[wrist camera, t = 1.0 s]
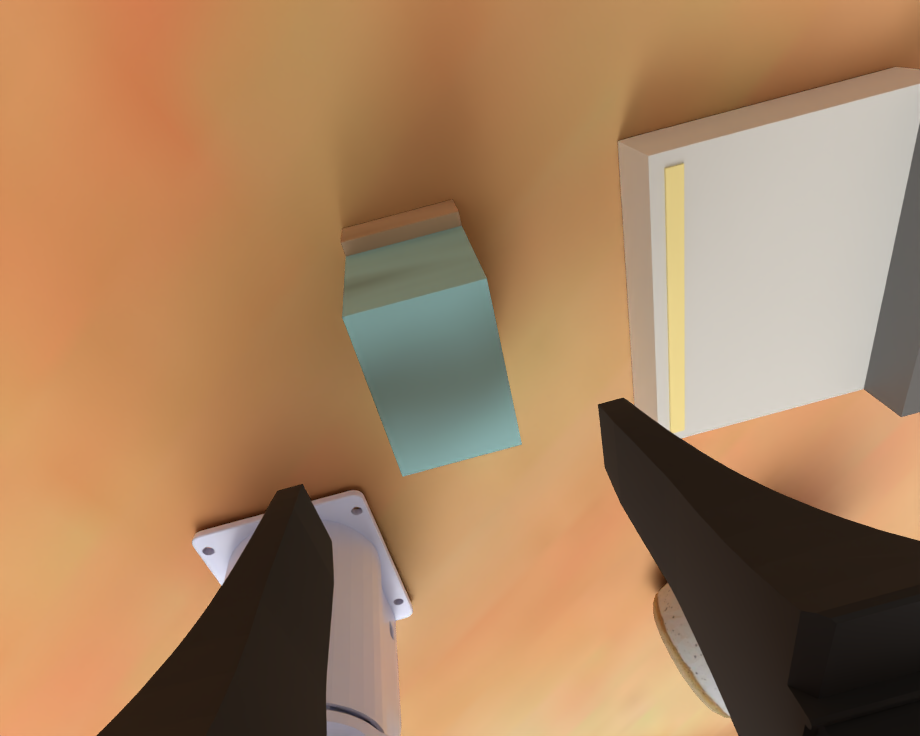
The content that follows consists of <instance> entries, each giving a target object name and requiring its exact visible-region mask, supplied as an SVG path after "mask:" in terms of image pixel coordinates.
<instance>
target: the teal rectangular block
mask: <svg viewBox="0 0 920 736" xmlns="http://www.w3.org/2000/svg"><path fill="white" fill-rule="evenodd" d="M341 245H342V247H343V250H344V253H345V256H346V261H345V278H344V294H343V311H342V318H343V321H344V323H345V326H346V329H347V331H348V334H349V337H350V339H351V342H352V344H353V347H354V350H355V352H356V355H357V358H358V360H359V363H360V366H361V368H362V371H363V373H364V376H365V379H366V381H367V384H368V387H369V389H370V392H371V395H372V397H373V400H374V402H375V405H376V408H377V410H378V413H379V416H380V418H381V421H382V424H383V426H384V429H385V431H386V434H387V437H388V439H389V442H390V445H391V447H392V450H393V453H394V455H395V458H396V461H397V463H398V466H399V468H400V471H401V474H402V476H407V475H410V474H414V473H418V472H421V471H425V470H429V469H433V468H436V467H440V466H444V465H447V464H451V463H455V462H459V461H462V460H466V459H470V458H473V457H477V456H481V455H484V454H488V453H492V452H496V451H499V450H503V449H507V448H510V447H514V446H518V445H522V443H521V438H520V433H519V429H518V424H517V419H516V414H515V410H514V405H513V400H512V395H511V391H510V386H509V381H508V376H507V372H506V367H505V362H504V357H503V353H502V348H501V343H500V339H499V334H498V329H497V324H496V320H495V315H494V310H493V305H492V301H491V296H490V291H489V286H488V282H487V278H486V276H485V273H484V271H483V269H482V267H481V265H480V263H479V261H478V259H477V257H476V255H475V252H474V250H473V248H472V246H471V244H470V242H469V240H468V238H467V236H466V233H465V231H464V229H463V227H462V224H461V220H460V216H459V211H458V209H457V207H456V205H455V203H454V201H453V199H452V200H448V201H444V202H440V203H437V204H433V205H429V206H425V207H422V208H418V209H414V210H410V211H407V212H403V213H399V214H395V215H392V216H388V217H384V218H380V219H377V220H373V221H369V222H366V223H362V224H358V225H354V226H351V227H347V228H343V229H342V235H341Z"/></svg>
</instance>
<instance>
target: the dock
mask: <svg viewBox="0 0 920 736" xmlns="http://www.w3.org/2000/svg"><path fill="white" fill-rule="evenodd" d="M618 155H619V170H620V186H621V202H622V218H623V233H624V249H625V265H626V281H627V296H628V312H629V328H630V344H631V359H632V375H633V391H634V406H636V407H637V408H638V409H640V410H641V411H642V412H644V413H645V414H647V415H648V416H649V417H651V418H652V419H653V420H655V421H656V422H658V423H659V424H660V425H662V426H663V427H665V428H666V429H667V430H669V431H670V432H672V433H673V434H675V435H676V436H678V437H679V438H684V437H688V436H692V435H695V434H699V433H703V432H706V431H710V430H714V429H718V428H721V427H725V426H729V425H732V424H736V423H740V422H743V421H747V420H751V419H755V418H758V417H762V416H766V415H769V414H773V413H777V412H780V411H784V410H788V409H792V408H795V407H799V406H803V405H806V404H810V403H814V402H817V401H821V400H825V399H828V398H832V397H836V396H840V395H843V394H847V393H851V392H854V391H858V390H862V389H864V390H866V391H867V392H868V393H870V394H871V395H872V396H874V397H875V398H876V399H878V400H879V401H880V402H882V403H883V404H884V405H886V406H887V407H888V408H890V409H891V410H892V411H894V412H895V413H896V414H898V415H899V416H900V417H903V416H907V415H911V414H914V413H918V412H920V69H913V68H903V67H893V68H889V69H886V70H882V71H878V72H874V73H871V74H867V75H863V76H859V77H856V78H852V79H848V80H844V81H841V82H837V83H833V84H829V85H826V86H822V87H818V88H814V89H811V90H807V91H803V92H799V93H796V94H792V95H788V96H784V97H780V98H777V99H773V100H769V101H765V102H762V103H758V104H754V105H750V106H747V107H743V108H739V109H735V110H732V111H728V112H724V113H720V114H717V115H713V116H709V117H705V118H702V119H698V120H694V121H690V122H687V123H683V124H679V125H675V126H672V127H668V128H664V129H660V130H656V131H653V132H649V133H645V134H641V135H638V136H634V137H630V138H626V139H623V140H619V141H618Z"/></svg>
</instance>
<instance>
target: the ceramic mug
mask: <svg viewBox="0 0 920 736" xmlns="http://www.w3.org/2000/svg"><path fill="white" fill-rule="evenodd" d="M653 614H654V619H655V622H656V625H657V628H658V630H659V633H660V635H661V638H662V640H663V642H664V644H665V646H666V648H667V650H668V652H669V654H670V656H671V658H672V659H673V661H674V663H675V665H676V666H677V668H678V670H679V672H680V673H681V675H682V676H683V678H684V679H685V681H686V682H687V683H688V685H689V686H690V688H691V689H692V690H693V692H694V693H695V694H696V695H697V696H698V698H699V699H700V700H701V701H702V702H703V703H704V704H705V705H706V706H707V707H708V708H709V709H711V710H712V711H713V712H715V713H717V714H719V715H721V716H723V717H726V718H731V717H730V715H729V713H728V710H727V708H726V706H725V703H724V701H723V699H722V696H721V694H720V692H719V690H718V687H717V685H716V683H715V680H714V678H713V676H712V674H711V672H710V669H709V667H708V665H707V663H706V661H705V658H704V656H703V654H702V652H701V650H700V647H699V645H698V643H697V641H696V639H695V637H694V634H693V632H692V630H691V628H690V626H689V624H688V622H687V620H686V617H685V615H684V613H683V611H682V609H681V607H680V605H679V603H678V601H677V599H676V597H675V595H674V593H673V591H672V589H671V588H670V586H669V584H668V583H667V584H666V585H665V586H664V587H663V588H661V589H660V590H659V592H658V593H657V594H656V596H655V598H654V602H653Z"/></svg>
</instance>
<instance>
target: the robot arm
mask: <svg viewBox="0 0 920 736" xmlns="http://www.w3.org/2000/svg"><path fill="white" fill-rule="evenodd" d="M598 409H599V418H600V427H601V436H602V446H603V455H604V464H605V469H606V471H607V473H608V476H609V478H610V480H611V483H612V485H613V487H614V490H615V492H616V494H617V496H618V498H619V501H620V503H621V505H622V506H623V508H624V510H625V512H626V513H627V515H628V517H629V518H630V520H631V522H632V524H633V525H634V527H635V529H636V530H637V532H638V534H639V535H640V537H641V539H642V540H643V542H644V544H645V545H646V547H647V549H648V550H649V552H650V554H651V555H652V557H653V559H654V560H655V562H656V564H657V565H658V567H659V569H660V570H661V572H662V574H663V575H664V577H665V579H666V580H667V582H668V584H669V586H670V588H671V589H672V591H673V593H674V595H675V597H676V599H677V601H678V603H679V605H680V607H681V609H682V611H683V613H684V615H685V617H686V620H687V622H688V624H689V626H690V628H691V630H692V632H693V634H694V637H695V639H696V641H697V643H698V645H699V647H700V650H701V652H702V654H703V656H704V658H705V661H706V663H707V665H708V667H709V669H710V672H711V674H712V676H713V678H714V680H715V683H716V685H717V687H718V690H719V692H720V694H721V696H722V699H723V701H724V703H725V706H726V708H727V710H728V713H729V715H730V717H731V719H732V722H733V724H734V726H735V729H736V731H737V733H738V736H920V541H918V540H914V539H911V538H907V537H903V536H900V535H896V534H892V533H888V532H885V531H881V530H878V529H875V528H872V527H869V526H866V525H863V524H860V523H856V522H853V521H850V520H847V519H844V518H841V517H839V516H836V515H833V514H830V513H828V512H825V511H822V510H819V509H817V508H814V507H812V506H809V505H807V504H804V503H802V502H799V501H797V500H794V499H792V498H790V497H787V496H785V495H783V494H780V493H778V492H776V491H774V490H771V489H769V488H767V487H765V486H763V485H761V484H759V483H757V482H755V481H753V480H751V479H749V478H747V477H745V476H743V475H741V474H739V473H737V472H735V471H733V470H732V469H730V468H728V467H726V466H724V465H723V464H721V463H719V462H718V461H716V460H714V459H712V458H711V457H709V456H707V455H706V454H704V453H703V452H701V451H699V450H698V449H696V448H695V447H693V446H692V445H690V444H688V443H687V442H685V441H684V440H682V439H681V438H679V437H678V436H676V435H675V434H673V433H672V432H670V431H669V430H667V429H666V428H665V427H663V426H662V425H660V424H659V423H658V422H656V421H655V420H653V419H652V418H651V417H649V416H648V415H647V414H645V413H644V412H642V411H641V410H640V409H638V408H637V407H636V406H634V405H633V404H632V403H630V402H629V401H628V400H626V399H624V398H620V399H616V400H613V401H609V402H605V403H602V404H598ZM354 507H360V508H359V509H354ZM192 545H193V547H194V548H195V550H196V551H197V553H198V554H199V555H200V557H201V558H202V559H203V561H204V562H205V564H206V565H207V566H208V568H209V569H210V570H211V572H212V573H213V575H214V576H215V577H216V579H217V580H218V582H219V583H220V584H221V587H220V589H219V591H218V592H217V594H216V595H215V597H214V598H213V600H212V601H211V603H210V604H209V606H208V607H207V609H206V610H205V611H204V613H203V614H202V616H201V617H200V618H199V620H198V621H197V622H196V624H195V625H194V626H193V628H192V629H191V630H190V632H189V633H188V634H187V635H186V637H185V638H184V639H183V641H182V642H181V643H180V645H179V646H178V647H177V648H176V649H175V651H174V652H173V653H172V654H171V656H170V657H169V658H168V659H167V660H166V661H165V662H164V664H163V665H162V666H161V667H160V668H159V669H158V671H157V672H156V673H155V674H154V675H153V676H152V677H151V679H150V680H149V681H148V682H147V683H146V684H145V686H144V687H143V688H142V689H141V690H140V691H139V692H138V693H137V695H136V696H135V697H134V698H133V699H132V700H131V701H130V702H129V703H128V704H127V705H126V706H125V707H124V708H123V709H122V710H121V711H120V713H119V714H118V715H117V716H116V717H115V718H114V719H113V720H112V721H111V722H110V723H109V724H108V725H107V726H106V727H105V728H104V729H103V730H102V731H101V732H100V733H99V734H98V735H97V736H400V735H401V709H400V692H399V675H398V657H397V640H396V623H395V621H396V620H400V619H403V618H407V617H409V616H410V615H411V614H412V612H413V609H412V603H411V601H410V599H409V597H408V594H407V592H406V590H405V588H404V585H403V583H402V581H401V578H400V576H399V574H398V572H397V569H396V567H395V565H394V563H393V560H392V558H391V556H390V553H389V551H388V549H387V547H386V544H385V542H384V540H383V538H382V535H381V533H380V531H379V529H378V526H377V524H376V522H375V519H374V517H373V515H372V513H371V510H370V508H369V506H368V504H367V501H366V499H365V497H364V495H363V494H362V492H360V491H357V490H351V491H346V492H343V493H339V494H335V495H332V496H328V497H324V498H320V499H317V500H313V501H311V499H310V497H309V495H308V494H307V492H306V490H305V488H304V486H303V484H301V485H297V486H294V487H290V488H286V489H282V490H279V491H277V493H276V494H275V496H274V498H273V500H272V501H271V503H270V505H269V506H268V508H267V510H266V512H265V513H264V514H261V515H257V516H254V517H250V518H246V519H243V520H239V521H235V522H232V523H228V524H224V525H220V526H217V527H213V528H209V529H206V530H202V531H199V532H197V533H196V534H195V535H194V537H193V540H192ZM207 547H210V548H207Z"/></svg>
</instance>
